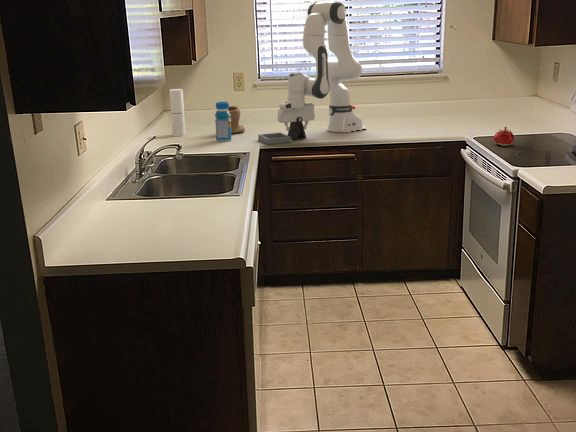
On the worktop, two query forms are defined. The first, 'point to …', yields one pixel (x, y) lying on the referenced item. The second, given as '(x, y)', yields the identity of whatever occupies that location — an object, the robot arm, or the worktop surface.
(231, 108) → the tan boot
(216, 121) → the beverage bottle
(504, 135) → the pomegranate
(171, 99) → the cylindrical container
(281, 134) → the tray
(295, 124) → the door stopper
